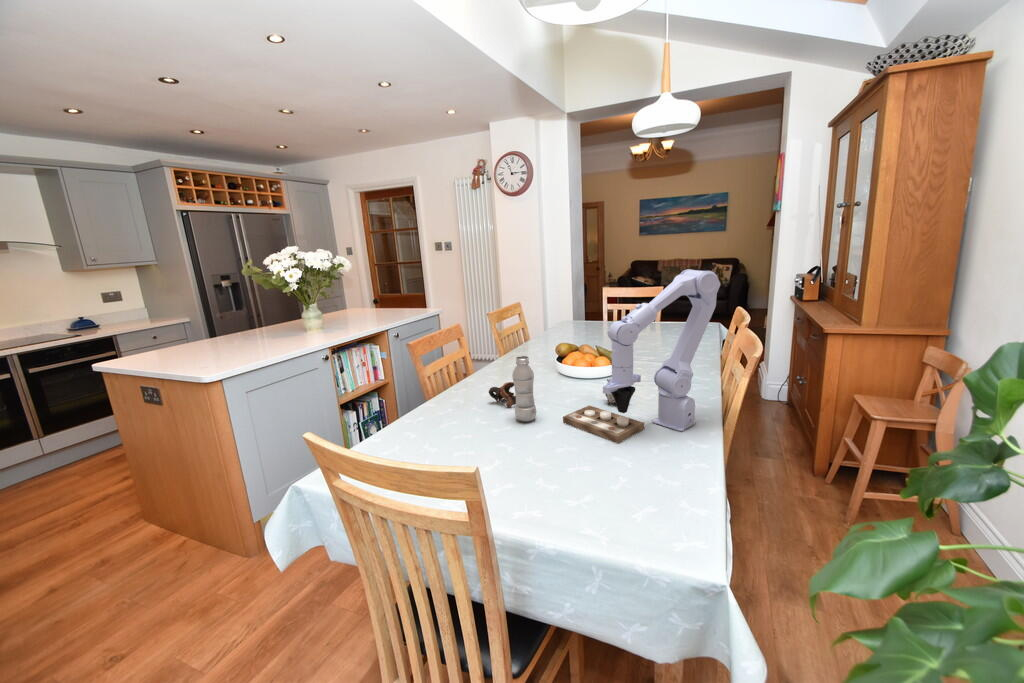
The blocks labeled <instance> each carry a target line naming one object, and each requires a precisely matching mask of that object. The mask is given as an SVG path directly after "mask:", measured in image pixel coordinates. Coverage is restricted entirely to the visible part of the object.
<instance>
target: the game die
mask: <svg viewBox="0 0 1024 683" xmlns="http://www.w3.org/2000/svg"><path fill="white" fill-rule="evenodd" d="M606 381H607V382H606V385H607V384H608V383H609V382H610V381H609V379H608V378H607V379H606ZM604 395H605V397H606V399H607V400H608V403H607V405H608V406H610V404H616V402H615V399H614V397H613V395H612V394H610V395H608V394H604Z"/></svg>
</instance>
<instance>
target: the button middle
mask: <svg viewBox="0 0 1024 683" xmlns="http://www.w3.org/2000/svg"><path fill="white" fill-rule="evenodd" d="M611 412H612V411H609V412H608V410H606V411H602V412H600V420H602V421H605V422H608V421H610V420H611Z"/></svg>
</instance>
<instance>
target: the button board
mask: <svg viewBox="0 0 1024 683" xmlns="http://www.w3.org/2000/svg"><path fill="white" fill-rule="evenodd" d="M586 410H593V411H595V415H593V416H588V415H585V414H584V411H586ZM602 411H608V410H604V409H602V408H600V407H595V406H594V405H593V406H592V405H589V404H588V405H587V406H584V407H581V408H579V409H578V410H575V411H573V412H571V413H568V414H566V415H563V416H562V423H563V424H565V423H566V424H565V425H567V424H568V426H570V425H571V427H573V428H575V427H576V429H578V428H579V429H578V430H581V431H583V430H584V432H586V431H587V432H586V433H589V434H591V433H592V435H594V434H595V435H594V436H597V437H600V438H602V439H605V440H607V439H608V441H610V440H611V442H613V443H615V442H616V444H620V443H621V442H623V440H624V441H625V439H626V440H628V439H630V438H631V437H633V436H634V434H635V435H636V433H637V434H639V433H640V432H642V431H644V430H645V422H644V421H640V420H637V419H633V418H631V417H627V416H624V415H621V414H618V413H615V412H612V411H608V412H611V420H610V421H608V422H605V421H602V420H600V412H602ZM618 417H627V418H628V419H629V426H627V427H625V428H623V427H620V426H617V418H618ZM643 429H644V430H643ZM632 435H633V436H632ZM627 438H628V439H627Z"/></svg>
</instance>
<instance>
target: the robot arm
mask: <svg viewBox="0 0 1024 683" xmlns="http://www.w3.org/2000/svg"><path fill="white" fill-rule="evenodd" d="M721 285H722V284H721V282H720V280H719V276H717V274H716V273H715V272H714V271H712V270H697V269H691V268H688V269H684V270H682V271H681V272H680V273H679V274H678V275H676V276H675V277H674V278H673V281H672V282H671V283H669V284H668V285H667V286H666V287H665V288H664V289H663V290H661V292H659V293H658V294H657V295H656V296H655V297H654V298H653V299H652V300H651V301H649V303H648V302H642V303H641V304H640V303H637V304H636V305H635V306H634V309H633V310H632V311H631V312H629V313H628V314H626V315H623V316H622V317H621V320H617V321H614V322H613V323H612V324H611V325H610V326H609V328H608V330H607V336H608V338H609V339H610V342H611V377H609V379H608V380H609V381H610V382H609V383H608V382H607V383H608V384H607V383H606V384H605V385H603V386H602V394H604V395H605V394H608V395H610V394H612V395H613V397H614V399H615V402H616V403H615V406H616V409H617V411H618V413H621V414H625V413H627V412H628V409H629V406H630V402H631V399H632V397H633V395H634V393H635V392H636V387H635V386H633V385H634V384H636V383H640V382H642V381H641V378H642V377H641V374H638V373H634V343H635V342H636V341H637V339H638V337H639V334H640V333H641V332H643V330H646V328H648V326H650V325H651V324H652V323H653V322H655V320H657V317H658V313H659V312H661V311H662V310H663V309H664V308H666V307H667V306H669V305H670V304H672V303H673V302H675V301H676V300H678V299H679V298H680V297H682V296H687V298H688V299H689V301H690V304H691V305H692V306H691V310H690V312H689V314H688V317H687V319H686V321H685V324H684V326H683V328H682V331H681V333H680V335H679V338H678V340H677V342H676V345H675V347H674V349H673V350H672V353H671V356H670V357H669V358H667V359H665V360H664V361H663V362H662V364H661V366H660V367H659V368H658V369H657V370H656V371H655V373H654V375H653V380H654V384H655V385H656V386H657V391H658V394H657V395H658V397H657V398H658V400H657V401H658V406H657V407H658V408H657V414H658V415H657V417H656V418H655V419H653V420H651V423H653V424H656V425H659V426H662V427H665V428H669V429H673V430H675V431H678V432H684V431H685V430H687V429H688V428H690V427H691V426H693V425H695V424H696V423H697V422H696V421H695V420H696V419H695V418H696V417H695V416H696V401H695V399H694V398H693V397H691V396H688V395H687V394H688V393H689V392H690V390H691V388H692V378H693V376H694V372H693V369H692V366H691V364H692V361H693V360H694V356H695V354H696V352H697V350H698V348H699V345H700V343H701V341H702V338H703V337H704V334H705V332H706V329H707V328H708V325H709V322H710V320H711V319H712V316H713V313H714V311H715V309H716V306H717V298H718V297H717V295H718V294H717V293H718V292H719V289H720V287H721Z"/></svg>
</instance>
